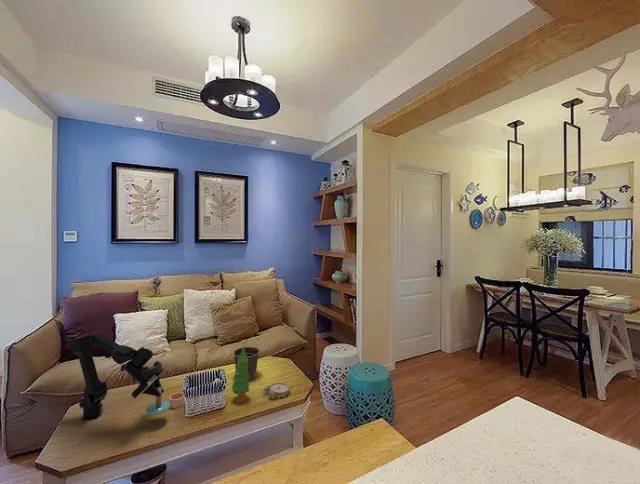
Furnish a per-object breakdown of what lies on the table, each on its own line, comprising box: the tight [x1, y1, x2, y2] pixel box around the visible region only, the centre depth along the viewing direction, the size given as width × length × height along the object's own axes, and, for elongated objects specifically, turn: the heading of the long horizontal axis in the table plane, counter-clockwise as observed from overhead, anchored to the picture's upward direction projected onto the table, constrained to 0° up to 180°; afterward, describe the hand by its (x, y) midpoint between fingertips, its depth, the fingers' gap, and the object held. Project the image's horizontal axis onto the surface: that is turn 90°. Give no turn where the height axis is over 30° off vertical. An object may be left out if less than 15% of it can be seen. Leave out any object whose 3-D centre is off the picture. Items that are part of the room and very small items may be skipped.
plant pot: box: [232, 346, 261, 381], centre depth 180 cm, size 16×16×16 cm
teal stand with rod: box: [145, 386, 171, 416], centre depth 135 cm, size 10×10×10 cm
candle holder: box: [262, 382, 292, 400], centre depth 161 cm, size 11×5×15 cm
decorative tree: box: [231, 346, 250, 404], centre depth 155 cm, size 10×9×30 cm
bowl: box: [168, 391, 185, 410], centre depth 149 cm, size 7×7×4 cm
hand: (161, 394), depth 135 cm, fingers closed on teal stand with rod, 2 cm apart
